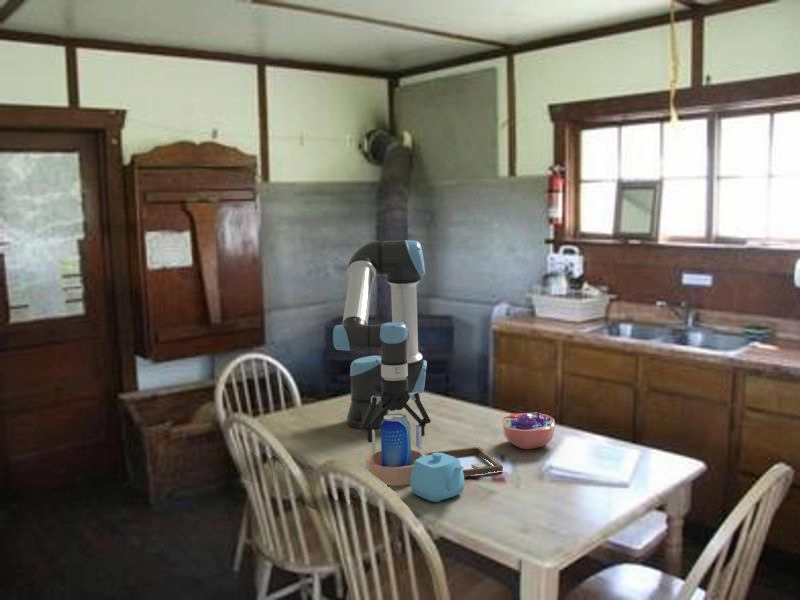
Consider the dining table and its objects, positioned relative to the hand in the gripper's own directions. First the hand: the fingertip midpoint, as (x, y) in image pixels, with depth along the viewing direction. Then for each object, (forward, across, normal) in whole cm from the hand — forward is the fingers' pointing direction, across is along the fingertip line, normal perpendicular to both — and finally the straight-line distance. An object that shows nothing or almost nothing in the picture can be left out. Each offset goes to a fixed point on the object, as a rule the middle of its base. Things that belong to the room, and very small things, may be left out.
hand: (396, 450), depth 219 cm
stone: (+7, +23, -6) cm, 25 cm away
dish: (+7, 0, 0) cm, 7 cm away
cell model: (+8, +46, +10) cm, 48 cm away
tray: (+7, +20, 0) cm, 21 cm away
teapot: (+8, +7, -19) cm, 22 cm away
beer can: (+6, 0, 0) cm, 6 cm away
